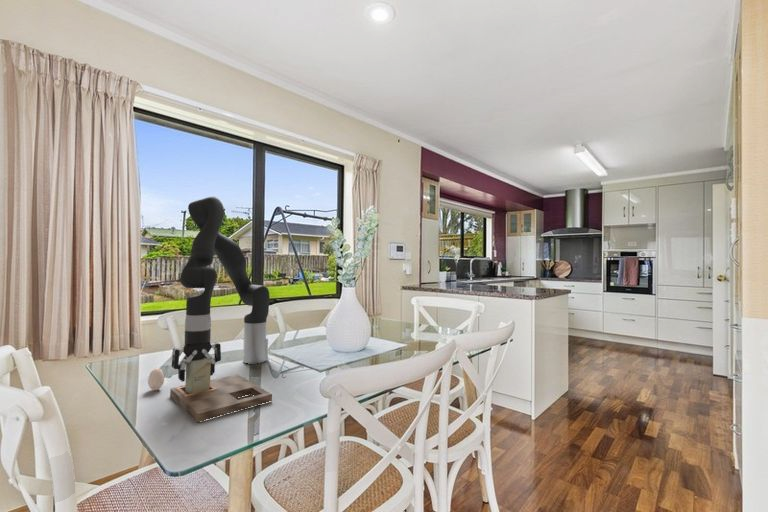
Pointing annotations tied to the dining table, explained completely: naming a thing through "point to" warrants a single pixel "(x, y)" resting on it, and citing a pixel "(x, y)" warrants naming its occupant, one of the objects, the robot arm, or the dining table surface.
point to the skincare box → (198, 376)
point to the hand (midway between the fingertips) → (196, 377)
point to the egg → (156, 379)
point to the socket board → (220, 397)
